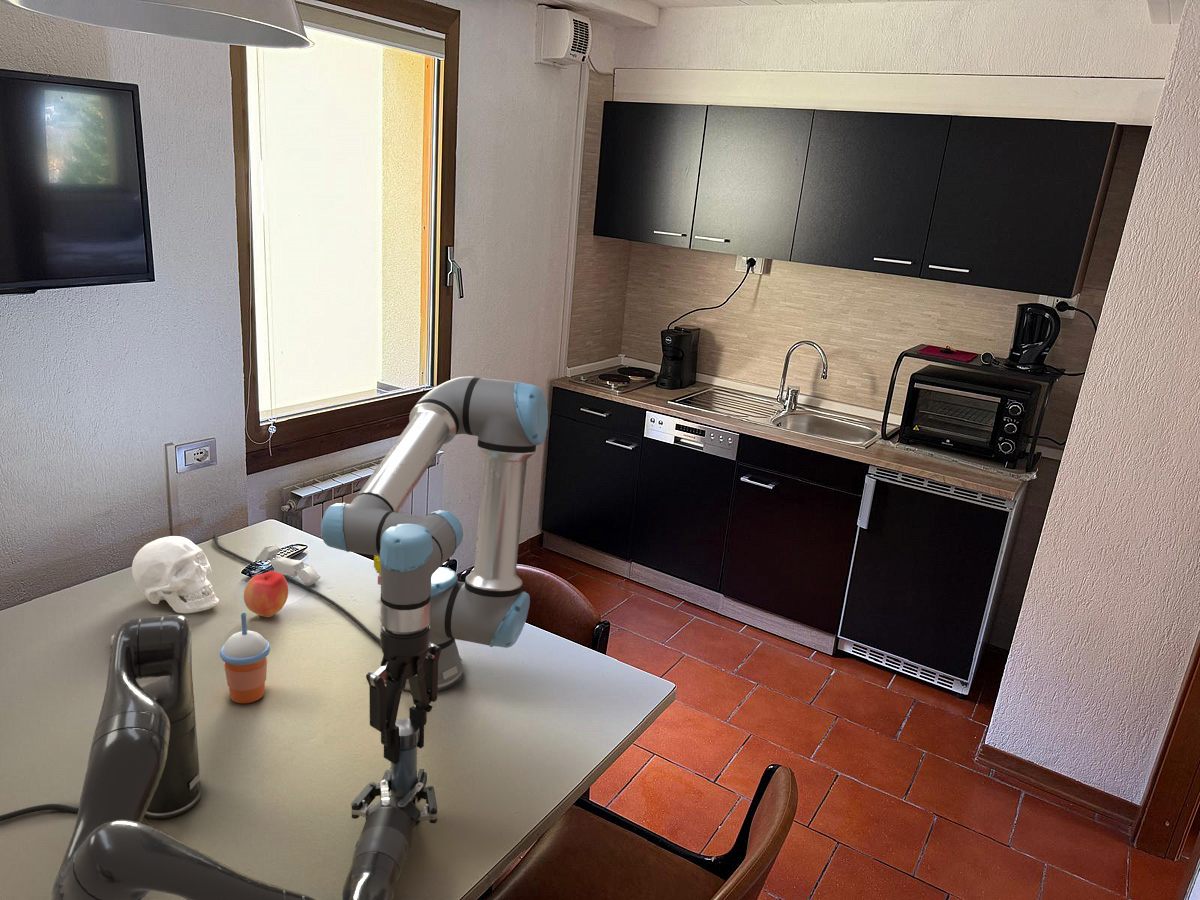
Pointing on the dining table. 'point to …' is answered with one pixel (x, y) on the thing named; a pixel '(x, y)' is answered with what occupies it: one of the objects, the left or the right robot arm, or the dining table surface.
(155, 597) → the skull
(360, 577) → the dining table surface
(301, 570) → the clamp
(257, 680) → the cup with straw
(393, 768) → the blue thermos bottle
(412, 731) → the lid
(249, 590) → the apple
